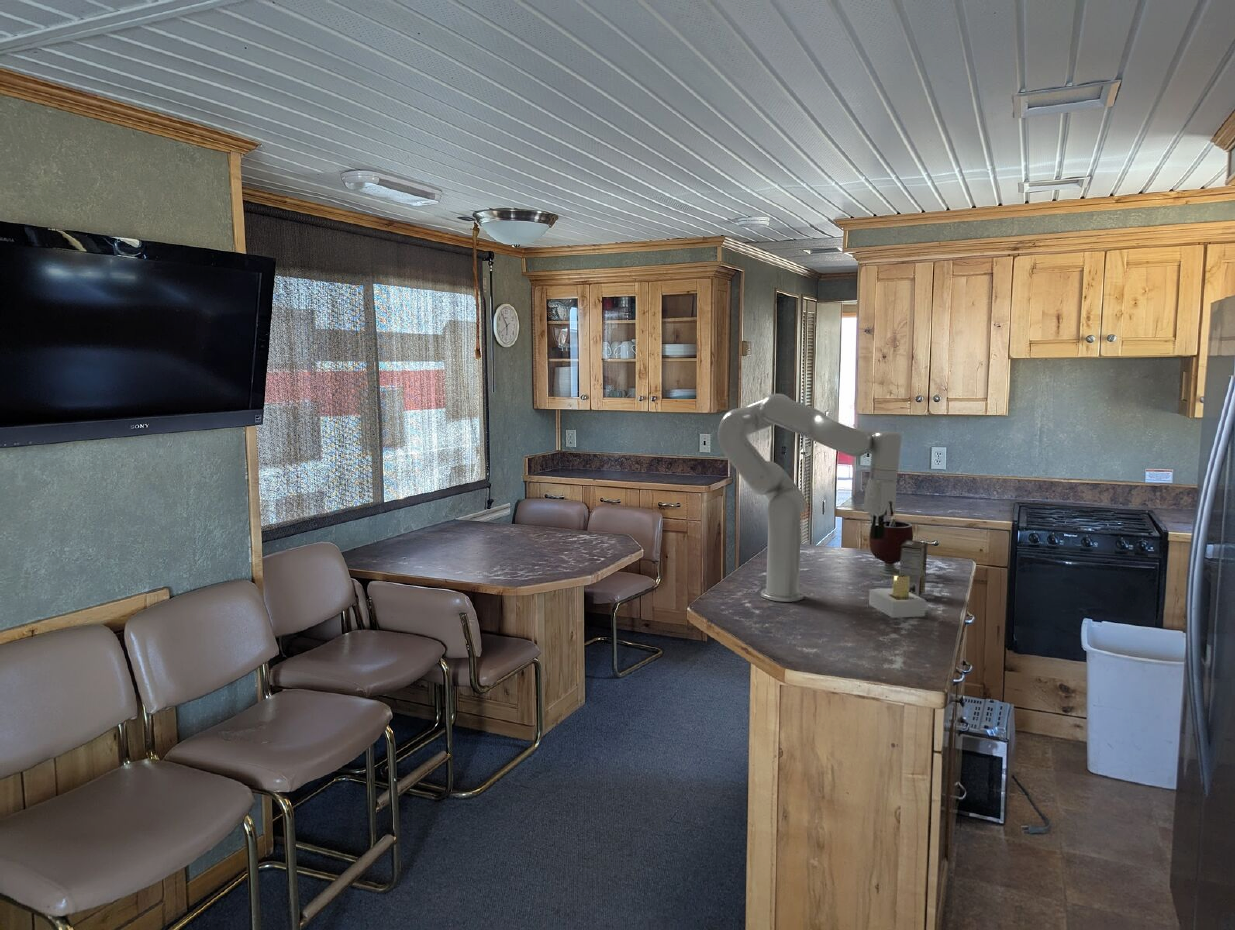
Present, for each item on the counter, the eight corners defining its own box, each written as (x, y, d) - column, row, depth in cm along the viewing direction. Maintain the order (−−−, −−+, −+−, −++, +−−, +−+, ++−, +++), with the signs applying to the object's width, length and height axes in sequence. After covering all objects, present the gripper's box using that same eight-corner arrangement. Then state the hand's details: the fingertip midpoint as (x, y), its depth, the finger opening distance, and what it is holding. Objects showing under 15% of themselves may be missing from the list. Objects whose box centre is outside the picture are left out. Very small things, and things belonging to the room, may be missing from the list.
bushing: (888, 605, 237) (890, 573, 236) (902, 604, 238) (904, 573, 237) (897, 609, 233) (898, 577, 232) (911, 608, 234) (913, 577, 233)
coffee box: (903, 590, 259) (906, 539, 257) (925, 593, 255) (928, 542, 253) (897, 597, 251) (900, 544, 249) (919, 600, 248) (922, 547, 246)
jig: (868, 604, 242) (869, 589, 242) (899, 602, 245) (900, 588, 244) (892, 617, 230) (893, 602, 229) (924, 616, 232) (925, 600, 231)
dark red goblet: (867, 567, 288) (870, 510, 286) (909, 570, 284) (912, 512, 282) (868, 577, 273) (871, 518, 271) (912, 581, 270) (916, 520, 267)
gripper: (858, 470, 241) (852, 532, 244) (884, 479, 227) (877, 544, 229) (881, 471, 243) (875, 532, 245) (909, 479, 228) (902, 544, 231)
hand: (876, 538), depth 237 cm, fingers closed
